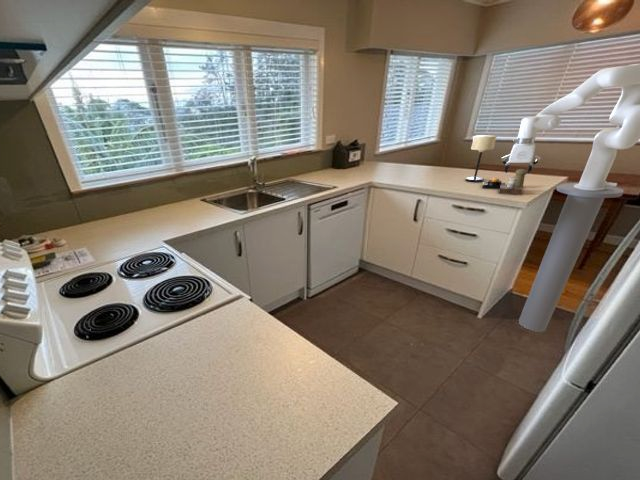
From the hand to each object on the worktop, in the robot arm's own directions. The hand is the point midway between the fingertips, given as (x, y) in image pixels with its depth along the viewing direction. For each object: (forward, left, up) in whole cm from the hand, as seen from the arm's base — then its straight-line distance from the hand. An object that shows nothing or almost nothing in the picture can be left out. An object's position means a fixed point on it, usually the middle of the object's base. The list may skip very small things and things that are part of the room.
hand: (516, 172), depth 171 cm
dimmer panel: (+1, 0, -12) cm, 12 cm away
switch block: (+9, -10, -12) cm, 18 cm away
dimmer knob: (+1, 0, -8) cm, 8 cm away
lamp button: (+9, -10, -8) cm, 16 cm away
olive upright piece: (-3, -13, -12) cm, 18 cm away
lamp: (+20, -26, -12) cm, 35 cm away
